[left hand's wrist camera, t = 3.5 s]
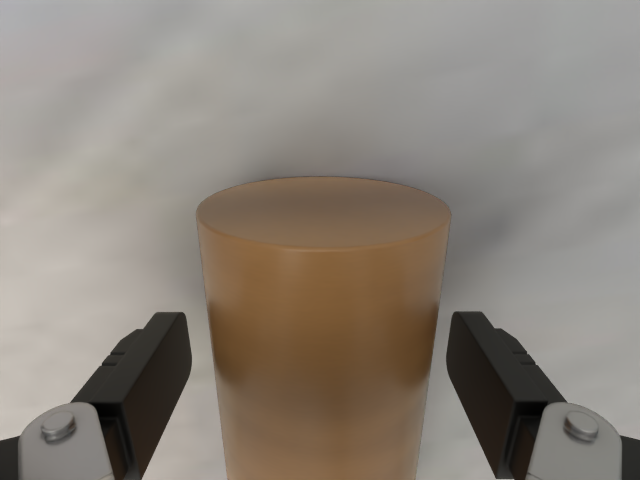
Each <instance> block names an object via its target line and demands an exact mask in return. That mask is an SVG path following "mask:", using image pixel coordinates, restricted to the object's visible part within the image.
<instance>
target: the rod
mask: <svg viewBox="0 0 640 480" xmlns="http://www.w3.org/2000/svg"><path fill="white" fill-rule="evenodd" d="M196 219H197V227H198V236H199V244H200V252H201V261H202V269H203V278H204V286H205V294H206V303H207V311H208V320H209V328H210V336H211V345H212V353H213V362H214V370H215V378H216V387H217V395H218V403H219V412H220V420H221V429H222V437H223V445H224V454H225V462H226V471H227V479H228V480H415V479H416V471H417V464H418V457H419V449H420V442H421V435H422V427H423V420H424V413H425V405H426V398H427V391H428V383H429V376H430V369H431V361H432V354H433V347H434V339H435V332H436V325H437V317H438V310H439V303H440V295H441V288H442V281H443V273H444V266H445V259H446V251H447V244H448V237H449V229H450V222H451V212H450V210H449V207H448V206H447V205H446V204H445V203H444V202H443V201H441V200H440V199H439V198H437V197H435V196H433V195H431V194H428V193H426V192H424V191H421V190H418V189H415V188H412V187H408V186H404V185H400V184H395V183H390V182H384V181H377V180H370V179H360V178H348V177H294V178H281V179H272V180H264V181H258V182H252V183H247V184H243V185H239V186H235V187H231V188H228V189H225V190H223V191H220V192H218V193H215V194H213V195H211V196H209V197H208V198H206V199H205V200H204V201H202V202H201V204H200V205H199V206H198V208H197V211H196Z"/></svg>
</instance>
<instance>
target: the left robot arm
mask: <svg viewBox="0 0 640 480" xmlns="http://www.w3.org/2000/svg"><path fill="white" fill-rule="evenodd" d="M446 364H447V371H448V374H449V377H450V379H451V381H452V384H453V386H454V388H455V390H456V392H457V395H458V397H459V399H460V401H461V403H462V406H463V408H464V410H465V412H466V414H467V416H468V419H469V421H470V423H471V425H472V427H473V430H474V432H475V434H476V436H477V438H478V440H479V443H480V445H481V447H482V449H483V451H484V454H485V456H486V458H487V460H488V462H489V465H490V467H491V469H492V471H493V473H494V475H495V478H496V479H514V480H640V440H637V439H633V438H629V437H625V436H621V435H619V434H618V432H617V431H616V429H615V428H614V427H613V426H612V425H611V424H610V423H609V422H608V421H607V420H605V419H604V418H603V417H601V416H600V415H598V414H597V413H595V412H593V411H591V410H589V409H587V408H585V407H582V406H579V405H576V404H572V403H568V402H567V401H566V400H565V399H564V397H563V396H562V395H561V394H560V393H559V391H558V390H557V389H556V388H555V386H554V385H553V384H552V383H551V381H550V380H549V379H548V378H547V376H546V375H545V374H544V373H543V371H542V370H541V369H540V368H539V366H538V365H536V364H535V361H534V360H533V359H532V358H531V356H530V355H529V354H527V351H526V350H525V349H524V348H523V346H522V345H521V344H520V343H519V341H518V340H517V339H516V338H514V337H513V336H511V335H510V334H508V333H507V332H505V331H504V330H502V329H494V327H493V326H492V324H491V323H490V322H489V320H488V319H487V318H486V316H485V315H484V314H483V313H482V312H454V313H453V315H452V319H451V326H450V333H449V340H448V347H447V354H446ZM191 366H192V354H191V347H190V340H189V334H188V327H187V320H186V316H185V314H184V313H183V312H157V313H155V314H154V315H153V317H152V318H151V319H150V321H149V322H148V323H147V325H146V326H145V327H144V329H136V330H135V331H133V332H132V333H130V334H129V335H128V336H126V337H125V338H123V339H122V340H120V342H119V343H118V344H117V345H116V347H115V348H114V349H113V350H112V352H111V354H110V355H108V356H107V358H106V359H105V360H104V361H103V363H102V366H99V368H98V369H97V370H96V371H95V373H94V374H93V375H92V376H91V377H90V379H89V380H88V381H87V382H86V384H85V385H84V386H83V387H82V389H81V390H80V391H79V392H78V394H77V395H76V396H75V397H74V398H73V400H72V401H71V402H70V403H68V404H64V405H61V406H58V407H55V408H53V409H51V410H49V411H47V412H45V413H43V414H42V415H40V416H39V417H37V418H36V419H35V420H33V421H32V422H31V423H30V424H29V425H28V426H27V427H26V428H25V429H24V431H23V432H22V434H21V435H20V436H17V437H14V438H9V439H5V440H1V441H0V480H141V479H142V477H143V475H144V473H145V471H146V469H147V466H148V464H149V462H150V460H151V458H152V456H153V454H154V451H155V449H156V447H157V445H158V443H159V441H160V438H161V436H162V434H163V432H164V430H165V428H166V425H167V423H168V421H169V419H170V417H171V415H172V413H173V410H174V408H175V406H176V404H177V402H178V400H179V397H180V395H181V393H182V391H183V389H184V387H185V384H186V382H187V380H188V378H189V375H190V372H191Z"/></svg>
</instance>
